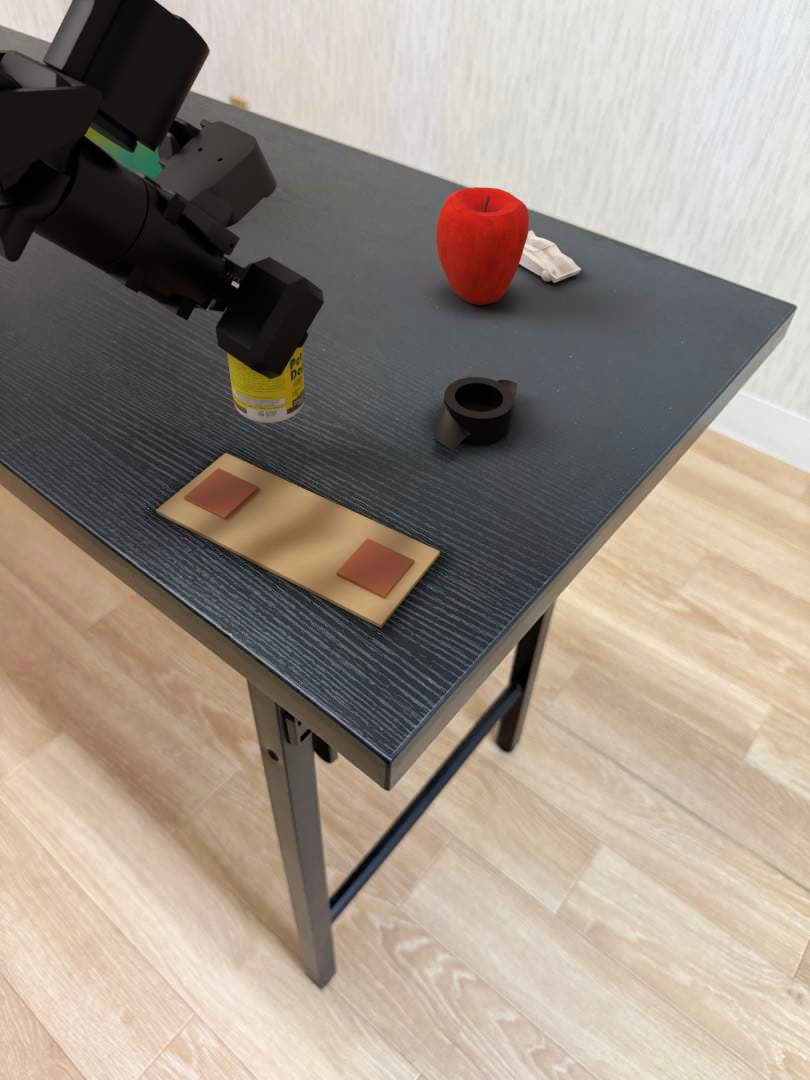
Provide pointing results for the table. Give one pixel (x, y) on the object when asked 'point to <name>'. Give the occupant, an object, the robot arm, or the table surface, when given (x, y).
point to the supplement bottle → (268, 389)
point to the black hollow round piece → (475, 412)
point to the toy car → (546, 259)
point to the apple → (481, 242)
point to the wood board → (302, 537)
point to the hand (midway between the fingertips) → (278, 324)
